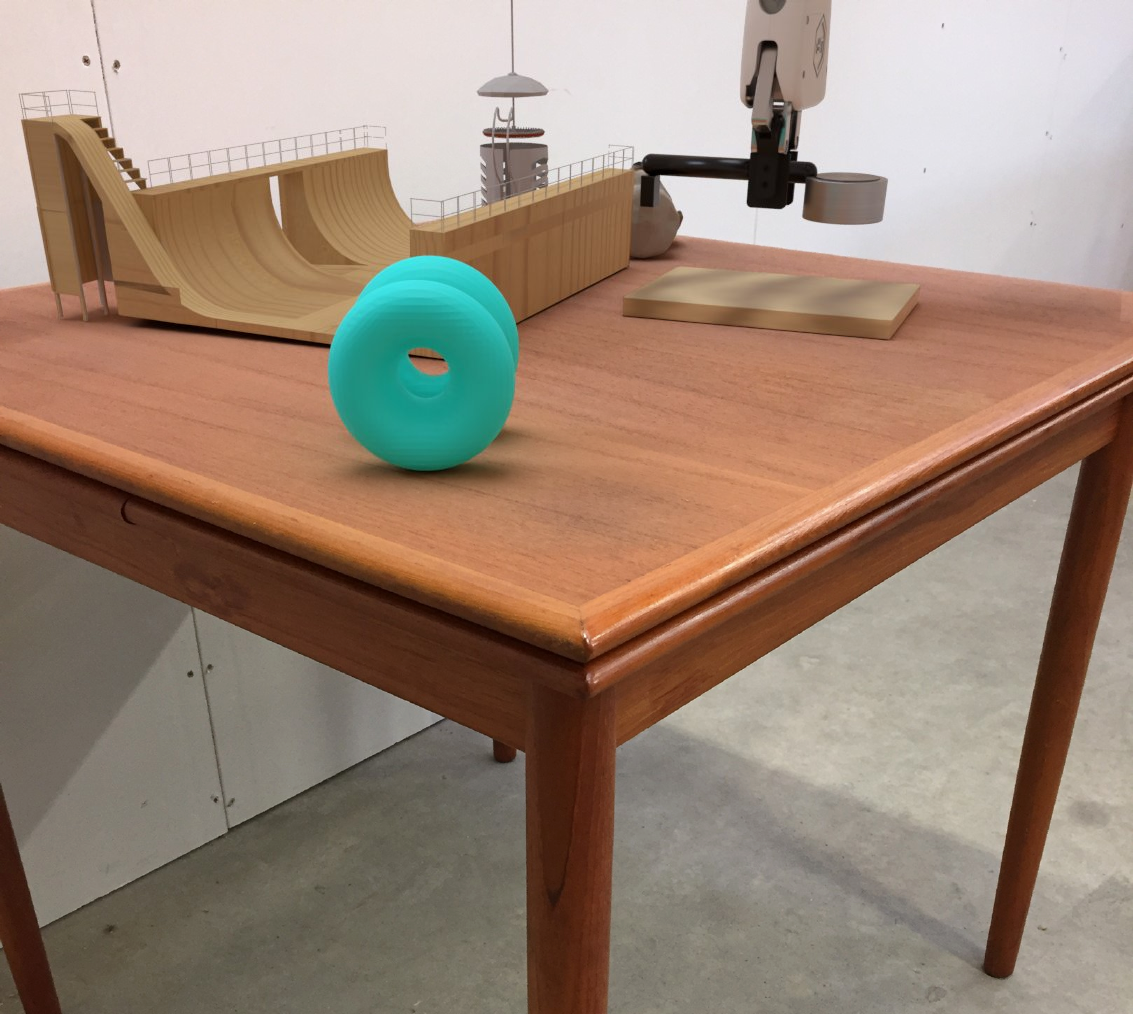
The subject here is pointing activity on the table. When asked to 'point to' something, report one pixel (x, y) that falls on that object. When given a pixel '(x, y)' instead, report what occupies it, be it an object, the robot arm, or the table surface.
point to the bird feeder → (514, 154)
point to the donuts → (405, 394)
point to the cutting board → (775, 301)
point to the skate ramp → (298, 234)
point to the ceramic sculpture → (652, 221)
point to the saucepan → (824, 192)
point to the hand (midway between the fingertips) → (769, 204)
